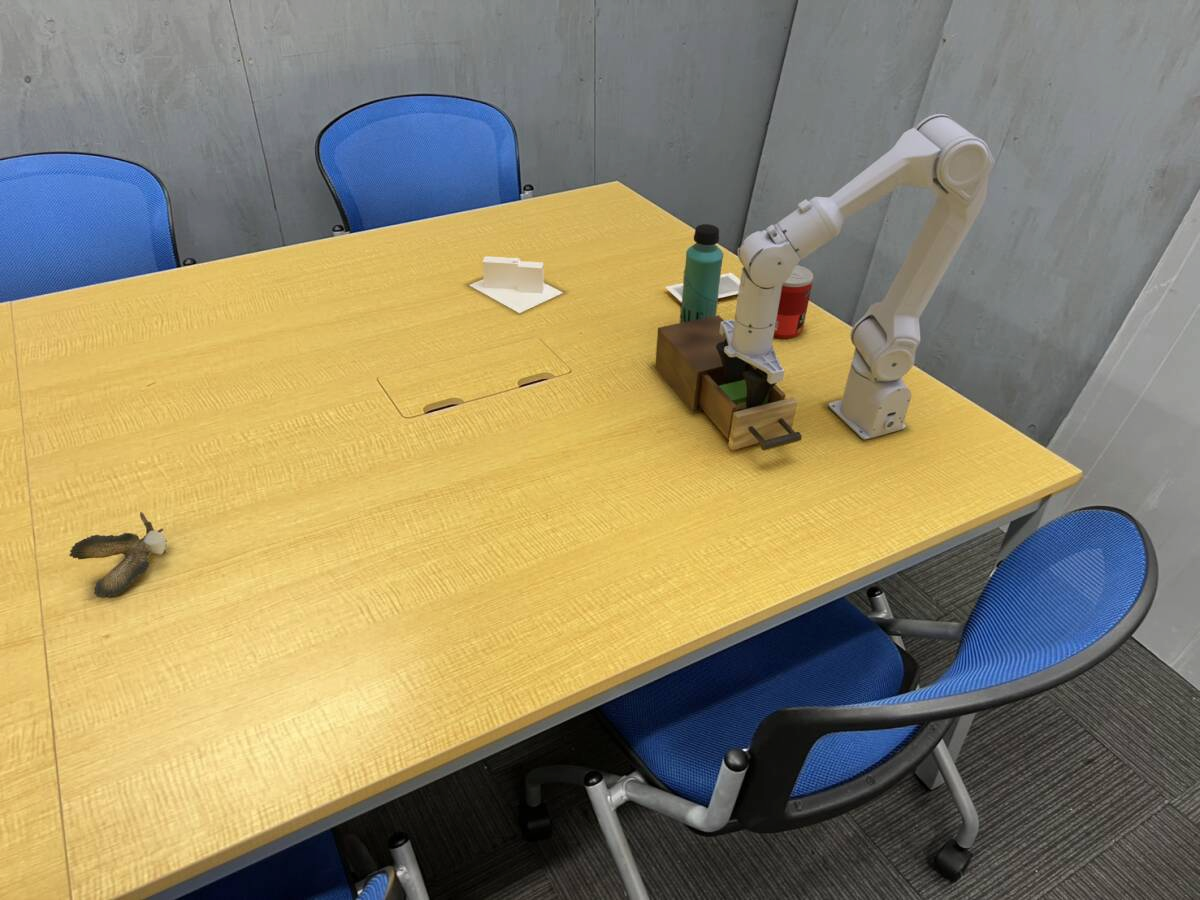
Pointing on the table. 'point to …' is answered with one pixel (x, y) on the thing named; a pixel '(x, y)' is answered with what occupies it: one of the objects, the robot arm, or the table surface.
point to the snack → (738, 394)
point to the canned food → (793, 303)
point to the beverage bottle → (701, 275)
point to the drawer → (748, 415)
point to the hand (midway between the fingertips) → (743, 397)
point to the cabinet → (689, 355)
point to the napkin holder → (515, 282)
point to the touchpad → (726, 287)
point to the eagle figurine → (132, 556)
